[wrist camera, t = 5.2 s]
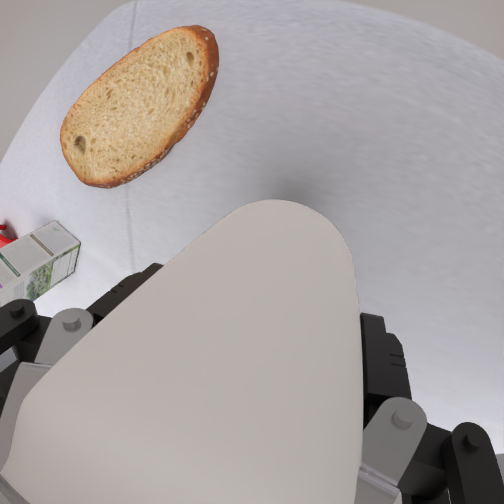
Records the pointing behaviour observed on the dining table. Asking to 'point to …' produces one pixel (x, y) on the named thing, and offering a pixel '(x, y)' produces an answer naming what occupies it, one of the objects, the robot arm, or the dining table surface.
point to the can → (210, 379)
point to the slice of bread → (140, 107)
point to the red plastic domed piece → (4, 238)
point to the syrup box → (36, 262)
